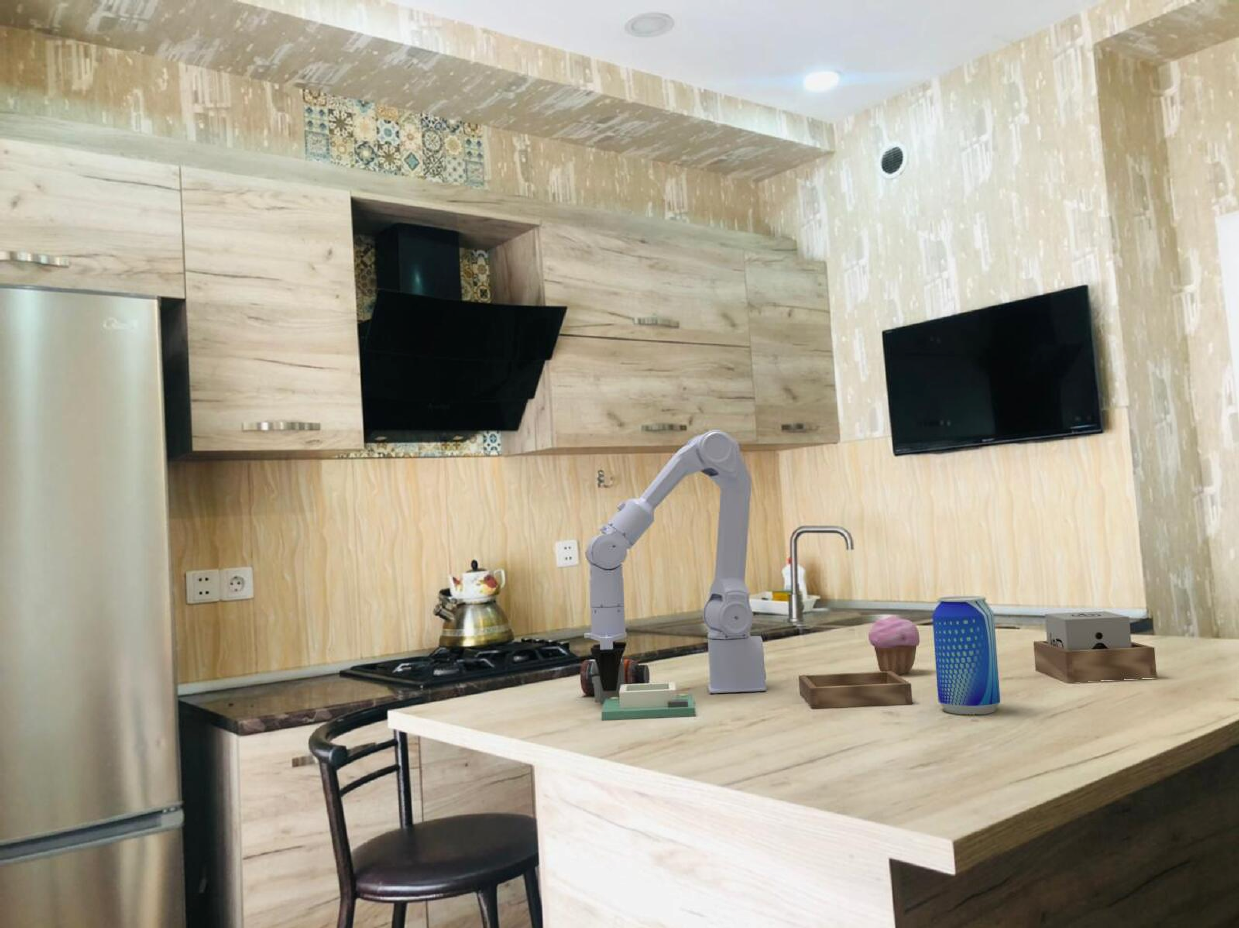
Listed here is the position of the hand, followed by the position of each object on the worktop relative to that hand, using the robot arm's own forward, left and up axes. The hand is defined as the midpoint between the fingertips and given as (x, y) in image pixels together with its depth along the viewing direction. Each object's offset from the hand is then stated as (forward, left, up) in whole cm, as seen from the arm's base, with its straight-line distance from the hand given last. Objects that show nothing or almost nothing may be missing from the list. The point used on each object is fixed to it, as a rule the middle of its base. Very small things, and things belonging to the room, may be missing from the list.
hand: (610, 688), depth 169 cm
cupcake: (-50, -14, -2) cm, 52 cm away
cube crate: (-80, -3, -2) cm, 81 cm away
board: (-6, +11, -2) cm, 13 cm away
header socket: (-6, +11, -1) cm, 13 cm away
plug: (0, 0, -2) cm, 2 cm away
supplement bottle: (+5, -7, +1) cm, 9 cm away
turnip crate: (-38, +9, -2) cm, 40 cm away
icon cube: (-80, -3, -2) cm, 80 cm away
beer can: (-52, +22, -2) cm, 57 cm away
